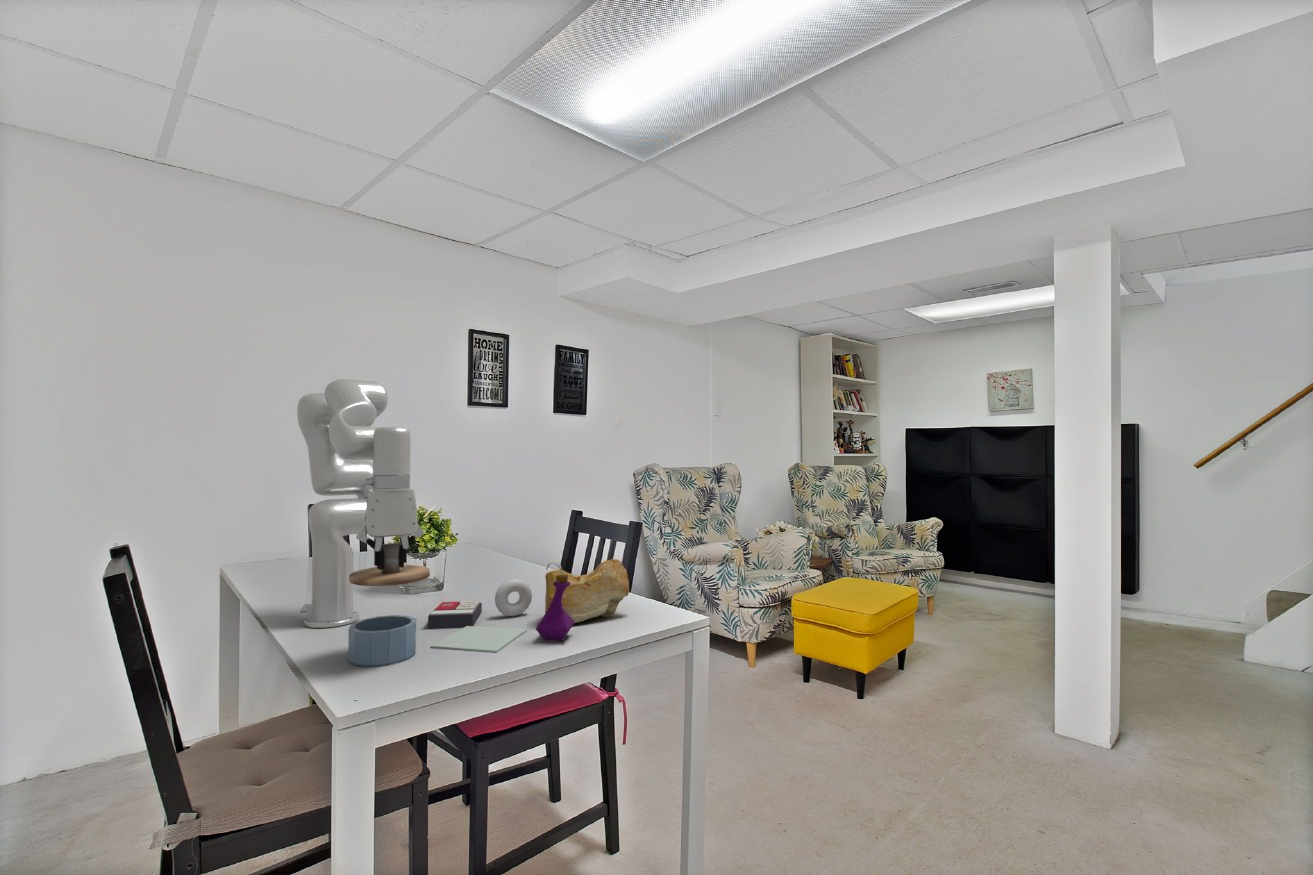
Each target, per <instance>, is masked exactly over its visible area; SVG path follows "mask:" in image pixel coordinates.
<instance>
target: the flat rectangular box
mask: <svg viewBox="0 0 1313 875" xmlns="http://www.w3.org/2000/svg"><path fill="white" fill-rule="evenodd" d="M482 605H483V603H482V602H481V601H480V600H475V601H474V600H469V601H468V600H467V601H443V602H440V603H439V605H438V606H437V607H435V608H434V610H432V612H430V613H429V614H428V616H427V630H437V629H438V630H441V629H444V630H445V629H462V628H464V627H466V626H475V625H476V622H477V621H478V619H479V617H480V616H481V614H482V611H483V610H482V608H483V606H482Z"/></svg>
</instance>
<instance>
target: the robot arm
mask: <svg viewBox="0 0 1313 875" xmlns="http://www.w3.org/2000/svg"><path fill="white" fill-rule="evenodd" d="M388 401H389V396H388V392H387V390H386V388H385V386H384V385H382V384H381V382H380V383H379V382H377V381H373V380H372V381H371V380H360V379H349V378H347V379H346V378H341V379H336V380H333V381H331V382H329V383H327V385H326V387H325V388H324V392H311V393H308V394H304V395H303V396H301V398H300V399H299V400H298V403H297V406H296V407H297V408H296V410H297V411H296V415H297V416H296V417H297V423H298V426H299V429H300V432H301V434H302V437H303V439H304V441H305V443H306V446H307V452H308V461H309V462H308V463H309V472H310V479H311V485H312V490H313V491H314V493H315V494H317V495H319V496H324V497H325V496H326V497H327V496H328V497H329V496H331V497H332V496H333V497H334V496H351V495H352V496H353V495H354V496H356V497H355V498H337V499H336V498H335V499H324V500H320V501H317V502H315V503H314V504H312V505H311V507H310V508H309V511H308V515H307V516H308V517H307V519H308V526H309V531H310V539H311V603H304V604H303V605H302V607H300V609H299V611H300V613H303V614H307V617H306V618H305V619H304V620H303V622H304V626H306V627H308V628H315V629H316V628H317V629H323V628H327V629H328V628H334V627H340V626H346V625H349V624H353V623H355V622H358V621H359V619H360V613H359V612H357V611H354V584H352V583H350V582H349V575H350V574H351V573H353V572H354V561H355V560H354V551H353V548H352V547H351V545H350V544H349V543H348V542H347V541H346V540H345V538H344V537H345V536H349V535H351V536H352V535H356V537H355V538H356V539H357V540H359V541H361V543H365V544H367V545H368V546H369V547H370V548H371V549H372V550H373V552H374V553H373V554H374V555H373V560H374V562H373V565H374V567H377V568H378V569H379V570H382V569H383V551H382V545H383V544H382V543H383V538H387V537H388V538H389V537H398V539H399V544H400V567H401V568H403V567H404V565H405V564H407V562H408V561H407V560H408V559H407V558H408V557H407V556H408V555H407V553H408V552H407V551H408V549H409V547H410V545H412V543H413V542H415V540H416V539H417V540H418V538H420V537H422V536H423V535H424V534H425V532H424V530H423V529H422V526H420V524H419V522H418V511H417V510H418V509H417V499H416V493H415V489H414V488H411V439H412V438H411V431H410V430H409V429H408V428H406V427H401V426H400V427H399V426H372V425H373V424H374V423H375V421H376V419H377V418H378V417H380V416H381V415H382V414H383V413H384V412H385V411H386V409H387V406H388V403H389V402H388ZM371 460H372V462H371ZM367 535H368V536H369V537H368V536H367ZM370 537H372V538H373V539H371V538H370Z"/></svg>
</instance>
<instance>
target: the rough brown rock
mask: <svg viewBox="0 0 1313 875" xmlns="http://www.w3.org/2000/svg"><path fill="white" fill-rule="evenodd" d="M562 573H563V574H567V575H569V576H568V580H567V581H568V582H570V586H567V588H566V589H565V590H564V593H563V596H562V607H563V609H564V610H565V612H566V613H567V614H568V615H569V616H570V617H571V618H572V619H573V620H574V623H573V624H577V623H582V622H584V621H586V620H589V619H593V618H597V617H600V616H601V617H603V618H608V617H609V618H610V617H612V616H613V615H615V613H616V611H617V608H618V606H619V604H620V602H622V601H623V600H624V598H626V597H627V596H628V595H629V593H630V581H629V577H628V572H627V569H626V568H625V567H624V565H623V562H622V561H621V560H620V559H617V558H611V559H609V560H604V561H602V562H600V563H599V564H598V565H597V567H595V569H594V570H593V571H591V572H589V573H587V574H582V575H578V576H576V575H574V574H572V573H569V572H567V571H566V570H563V569H562ZM562 573H561V570H560V569H555V570H550V571H549V570H548V571H547V572H546V573H545V576H544V577H545V600H544V601H545V608H544V609H545V610H544V613H546V612H547V610H548V608H549V606H550V604H551V602H552V600H553V597H554V595H555V592H556V588H555V586H554V585H553V583H554V582H556V577H557V575H562Z"/></svg>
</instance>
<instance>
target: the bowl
mask: <svg viewBox="0 0 1313 875" xmlns="http://www.w3.org/2000/svg"><path fill="white" fill-rule="evenodd" d="M347 648H348V650H347V651H348V656H347V658H348V661H349V663H350V664H351V665H353V666H356V667H365V668H369V667H370V668H373V667H375V668H376V667H382V666H383V667H384V666H390V665H394V664H398V663H401V662H404V661H407V660H410V659H411V658H413V657H414V656H415V655H416V650H417V618H415V617H413V616H410V615H401V614H400V615H398V614H392V615H381V616H380V615H379V616H374V617H368V618H364V619H360V620H357V621H355V622H352V623H350V625H349V627H348V647H347Z"/></svg>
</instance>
